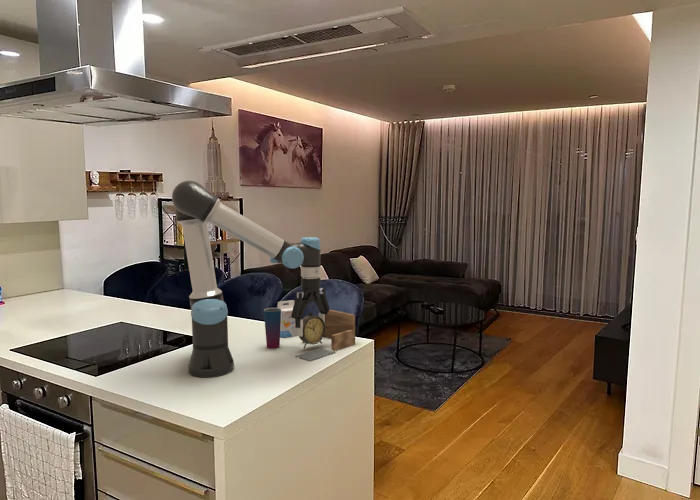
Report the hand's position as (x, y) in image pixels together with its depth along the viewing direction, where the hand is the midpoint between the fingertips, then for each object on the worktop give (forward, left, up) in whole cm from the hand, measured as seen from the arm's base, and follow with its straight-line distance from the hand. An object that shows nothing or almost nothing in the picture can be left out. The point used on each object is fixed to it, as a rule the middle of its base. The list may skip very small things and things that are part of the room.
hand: (310, 332), depth 191 cm
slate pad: (-5, -7, -6) cm, 11 cm away
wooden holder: (+10, 0, -6) cm, 12 cm away
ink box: (+6, +21, -6) cm, 23 cm away
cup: (-9, +13, -6) cm, 17 cm away
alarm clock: (0, 0, -5) cm, 5 cm away
